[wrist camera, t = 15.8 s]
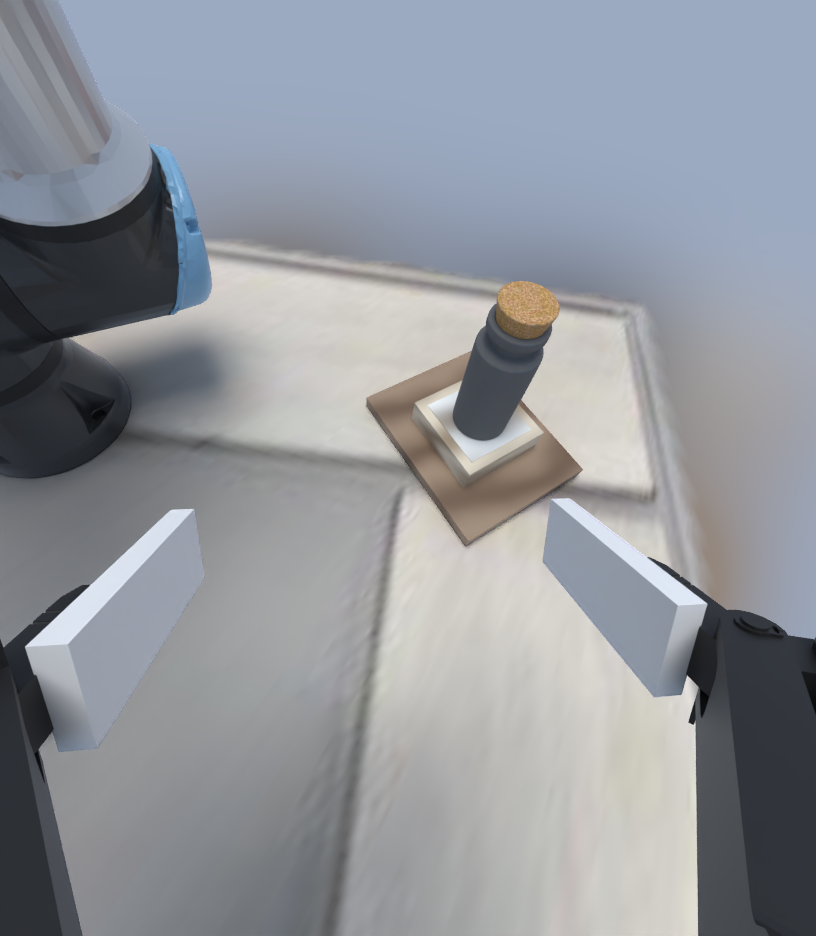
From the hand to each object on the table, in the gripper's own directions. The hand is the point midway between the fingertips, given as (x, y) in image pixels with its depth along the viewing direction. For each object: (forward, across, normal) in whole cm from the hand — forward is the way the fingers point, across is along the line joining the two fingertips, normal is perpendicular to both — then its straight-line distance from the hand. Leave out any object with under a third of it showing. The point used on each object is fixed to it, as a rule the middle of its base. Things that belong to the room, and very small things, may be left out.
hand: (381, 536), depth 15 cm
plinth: (+31, +12, -4) cm, 34 cm away
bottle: (+28, +12, -1) cm, 31 cm away
